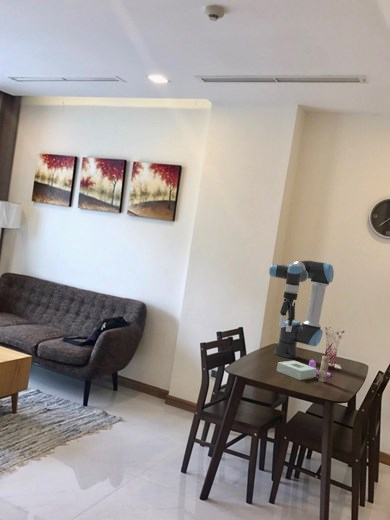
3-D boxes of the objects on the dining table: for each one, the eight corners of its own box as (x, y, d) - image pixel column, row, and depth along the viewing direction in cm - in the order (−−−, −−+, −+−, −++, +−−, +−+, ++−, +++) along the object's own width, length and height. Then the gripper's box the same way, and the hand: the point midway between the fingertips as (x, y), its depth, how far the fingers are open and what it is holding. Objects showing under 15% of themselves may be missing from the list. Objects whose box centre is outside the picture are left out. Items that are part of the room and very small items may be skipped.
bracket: (308, 372, 283) (310, 361, 283) (307, 370, 288) (309, 359, 288) (330, 377, 280) (332, 365, 280) (329, 375, 286) (331, 363, 286)
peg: (320, 379, 271) (324, 355, 270) (326, 382, 268) (331, 357, 267) (316, 380, 268) (321, 356, 268) (323, 382, 265) (327, 358, 265)
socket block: (292, 368, 286) (294, 360, 286) (315, 377, 275) (317, 368, 274) (276, 370, 275) (277, 362, 275) (299, 380, 264) (301, 371, 263)
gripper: (278, 288, 283) (272, 323, 284) (291, 294, 258) (284, 332, 259) (290, 290, 284) (285, 325, 285) (304, 296, 259) (298, 334, 260)
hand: (284, 329), depth 272 cm, fingers open, 13 cm apart
